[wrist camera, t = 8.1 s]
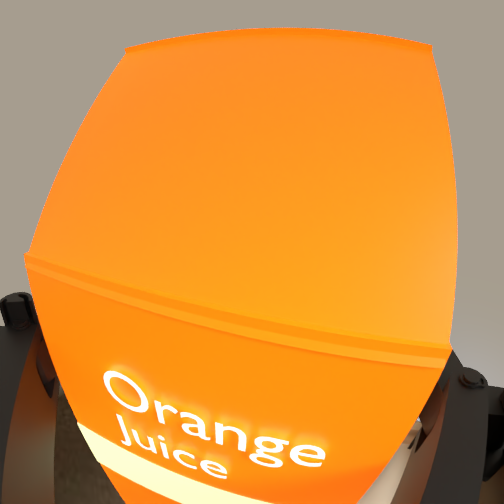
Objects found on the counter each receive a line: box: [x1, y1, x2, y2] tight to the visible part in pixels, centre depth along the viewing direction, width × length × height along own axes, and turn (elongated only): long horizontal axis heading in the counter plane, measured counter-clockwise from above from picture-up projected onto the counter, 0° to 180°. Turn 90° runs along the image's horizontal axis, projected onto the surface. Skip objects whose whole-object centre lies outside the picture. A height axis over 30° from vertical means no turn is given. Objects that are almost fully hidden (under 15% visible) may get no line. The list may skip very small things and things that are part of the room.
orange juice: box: [24, 28, 457, 504], centre depth 10 cm, size 8×9×20 cm
